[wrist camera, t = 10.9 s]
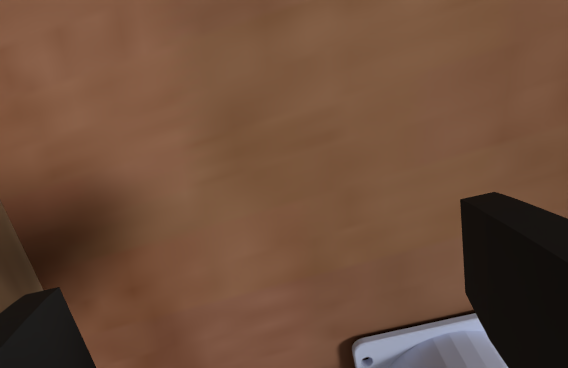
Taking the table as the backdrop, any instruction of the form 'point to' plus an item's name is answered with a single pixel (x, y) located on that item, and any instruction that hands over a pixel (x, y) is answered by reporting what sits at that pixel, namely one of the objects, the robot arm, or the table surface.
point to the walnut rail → (14, 266)
